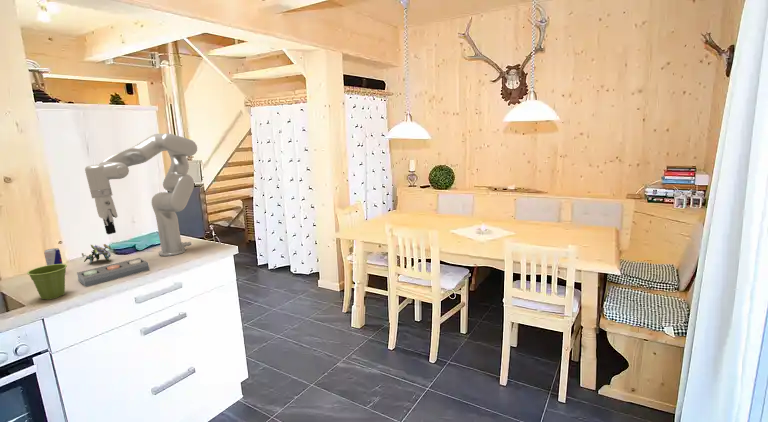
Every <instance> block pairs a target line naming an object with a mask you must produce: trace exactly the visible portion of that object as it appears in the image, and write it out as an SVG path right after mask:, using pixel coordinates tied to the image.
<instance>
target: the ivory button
mask: <svg viewBox="0 0 768 422" xmlns="http://www.w3.org/2000/svg"><path fill="white" fill-rule="evenodd" d="M140 262H141V260H133V261H130V262H129V264H130V265H132V264H136V263H140Z"/></svg>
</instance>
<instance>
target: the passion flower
mask: <svg viewBox="0 0 768 422" xmlns="http://www.w3.org/2000/svg"><path fill="white" fill-rule="evenodd" d="M102 245H103V247H104V248H103V247H102V246H100V245H96V244H95V245H93V244H90V246H91V248H92V249H93V250H92V251H91V252H90V253H91V254H89V255H86V254H84V253H83V252H81V255H82V257H83V258H84V257H85V258H84V260H83V262H84V263H85V262H86V261H87V260H89V265H91V264H92V263H93V262H94V260H95V259H96V261H99V260H100V255H103V257H104V259H105V260H106V261H107V262H111V260H112V259H110V258H111V256H112V255H111V253H110V251H109V250H111V249H112V248H111V247H110V246H108V245H107V244H106V243H104V244H102ZM106 249H109V250H106Z"/></svg>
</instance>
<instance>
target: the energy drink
mask: <svg viewBox="0 0 768 422" xmlns="http://www.w3.org/2000/svg"><path fill="white" fill-rule="evenodd" d="M44 258H45V261H46V262H45V263H46V266H47V265H53V264H64V263H63V260H62V259H63V258H62V255H61V250H60V249H59V248H58V247H57V248H56V247H54V248H49V249H45V250H44Z"/></svg>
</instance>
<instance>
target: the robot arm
mask: <svg viewBox="0 0 768 422" xmlns="http://www.w3.org/2000/svg"><path fill="white" fill-rule="evenodd" d="M197 151H198V145H197V144H196V141H194V140H192V139H190V138H187V137H182V136H179V135H177V134H173V133H169V132H168V133H167V132H166V133H154V134H152V135H150V136H149V137H146V138H145V139H143V140H142V141H140V142H138V143H137V144H135V145H134V146H132V147H130V148H127V149H125V150H123V151H120V152H118V153H116V154H113V155H110V156H109V157H107V158H106V159H104V160H103V161H101V162H99V164H91V165H86V166H85V168H84V171H85V172H84V173H85V175H86V176H85V177H86V179H87V184H88V188H89V191H90V195H91V199H94V202H95V207H96V211H97V214H98V217H99V218H100V219H102V221H103V225H104V229H105V232H106V234H107V235H112V234H116V232H117V231H116V226H115V223H114V218H118V213H117V209H116V206H115V202H114V199H113V197H112V196H113V191H112V187H111V182H110V180H121V179H124V178H126V177H127V176H128V175H129V173H130V170H129V167H132V166H136V165H141V164H144V163H147V162H148V161H150V160H151V159H152V158H155V156H157V155H159V154H160V153H161V152H167V154H168V156H169V157H170V166H169V169H168V170H167V173H166V175H165V177H164V180H163V182H162V186H163V189H164V190H165V191H167V192H163V191H162V192H158V193H155V194H154V195H153V196H152V198H151V207H152V209H153V211H154V215H155V219H156V226H157V231H158V238H159V244H160V249H161V250H159V251H158V256H161V257H171V256H176V255H180V254H182V253H184V252H186V251H187V249H186V247H190V246H192V242H191V241H188V242H187V241H184V242H183V241H182V238H181V232H180V225H179V219H178V218H179V217H178V215H177V213H179V212H182V211H183V210H184V209H185V208H186V206H187V205H188V203H189V200H190V197H191V195H192V194H193V191H194V187H195V181H194V179H193V177H192V176H191V175H190V174H188V171H189V170H190V168H189V167H190V166H189V162H188V158H187V157H191V156H192V157H193V156H194V155H196V154H197Z"/></svg>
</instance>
